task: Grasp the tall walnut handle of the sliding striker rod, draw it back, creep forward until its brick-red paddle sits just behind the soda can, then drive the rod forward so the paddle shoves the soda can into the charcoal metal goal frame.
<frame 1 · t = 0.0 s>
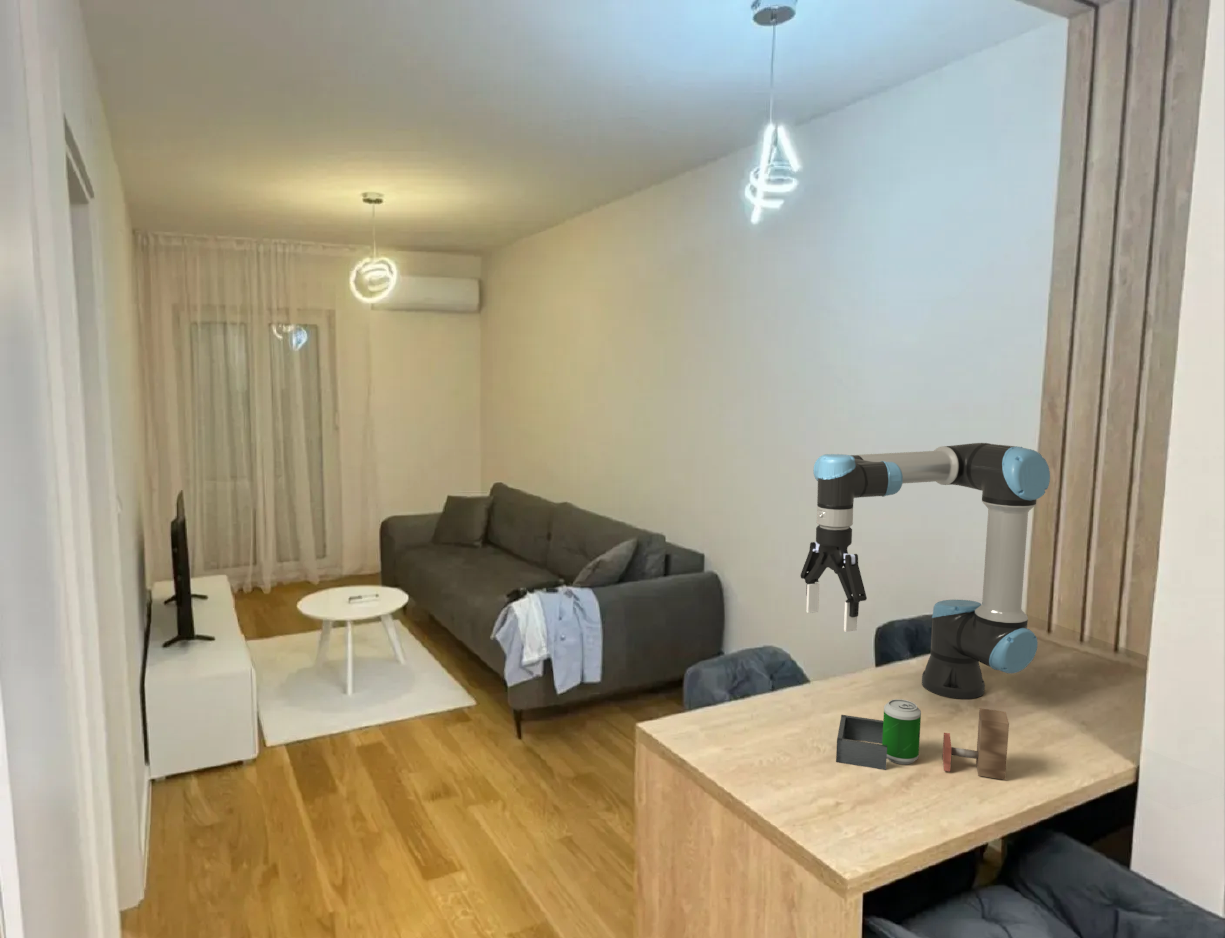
hand: (830, 621, 178), 28 cm above the table, fingers open, 13 cm apart
goal: (862, 752, 177), on the table
striker: (974, 740, 169), point 6 cm above the table, slide at 0.0 cm
soda can: (899, 758, 174), on the table
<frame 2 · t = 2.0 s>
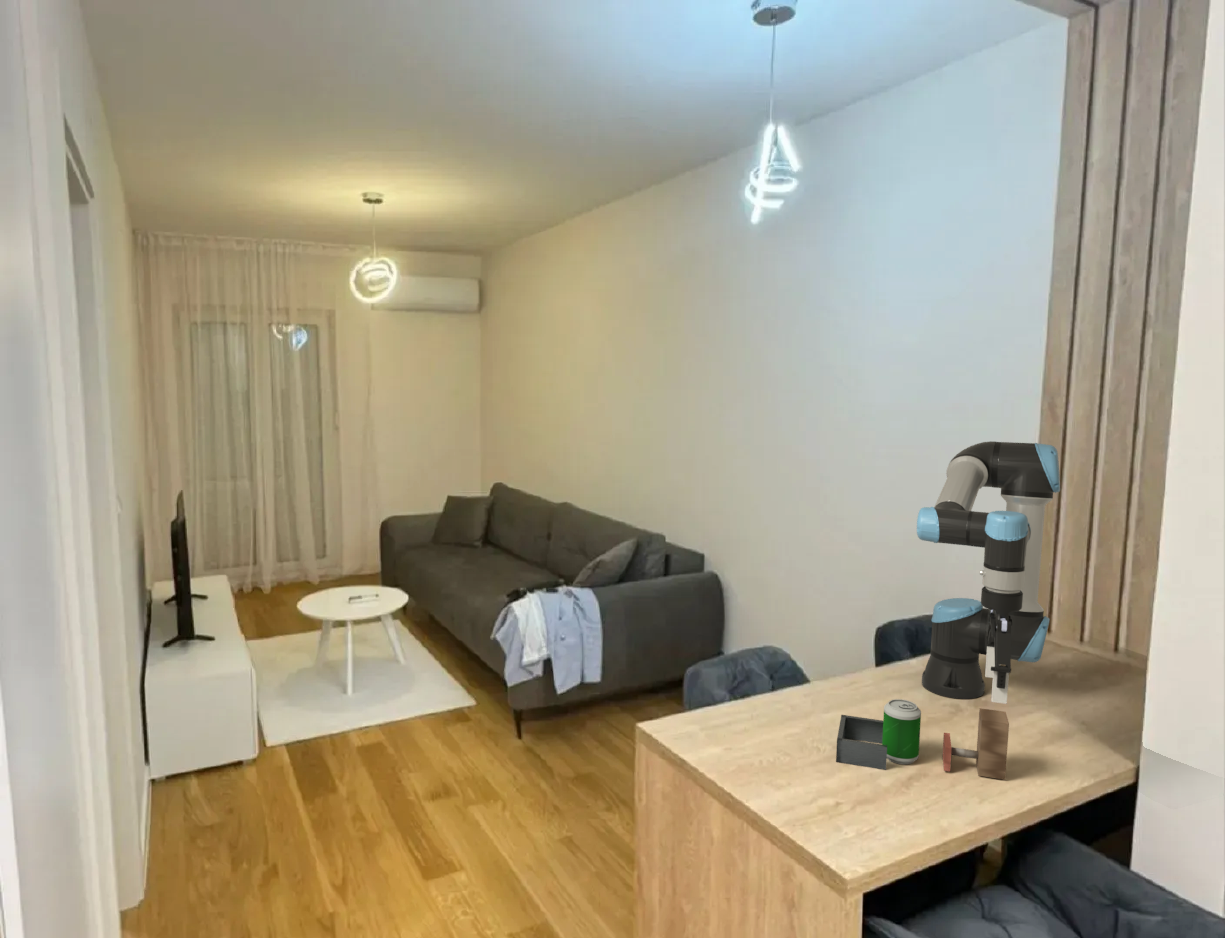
hand: (995, 689, 166), 18 cm above the table, fingers open, 13 cm apart
nothing on the table moved.
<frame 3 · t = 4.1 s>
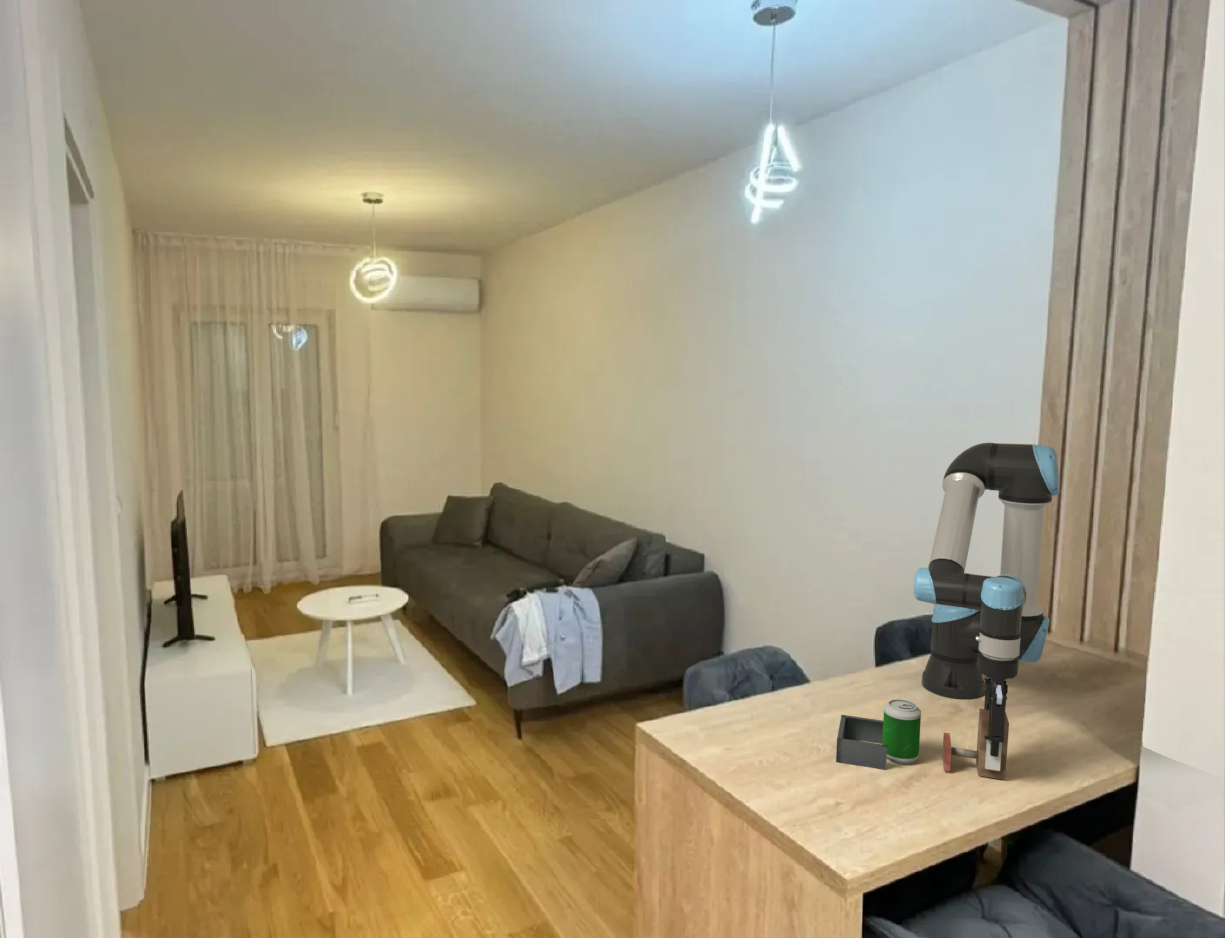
hand: (990, 761, 168), 2 cm above the table, fingers closed on striker, 6 cm apart
striker: (974, 740, 169), point 6 cm above the table, slide at 0.0 cm, touching gripper
everything else where it was.
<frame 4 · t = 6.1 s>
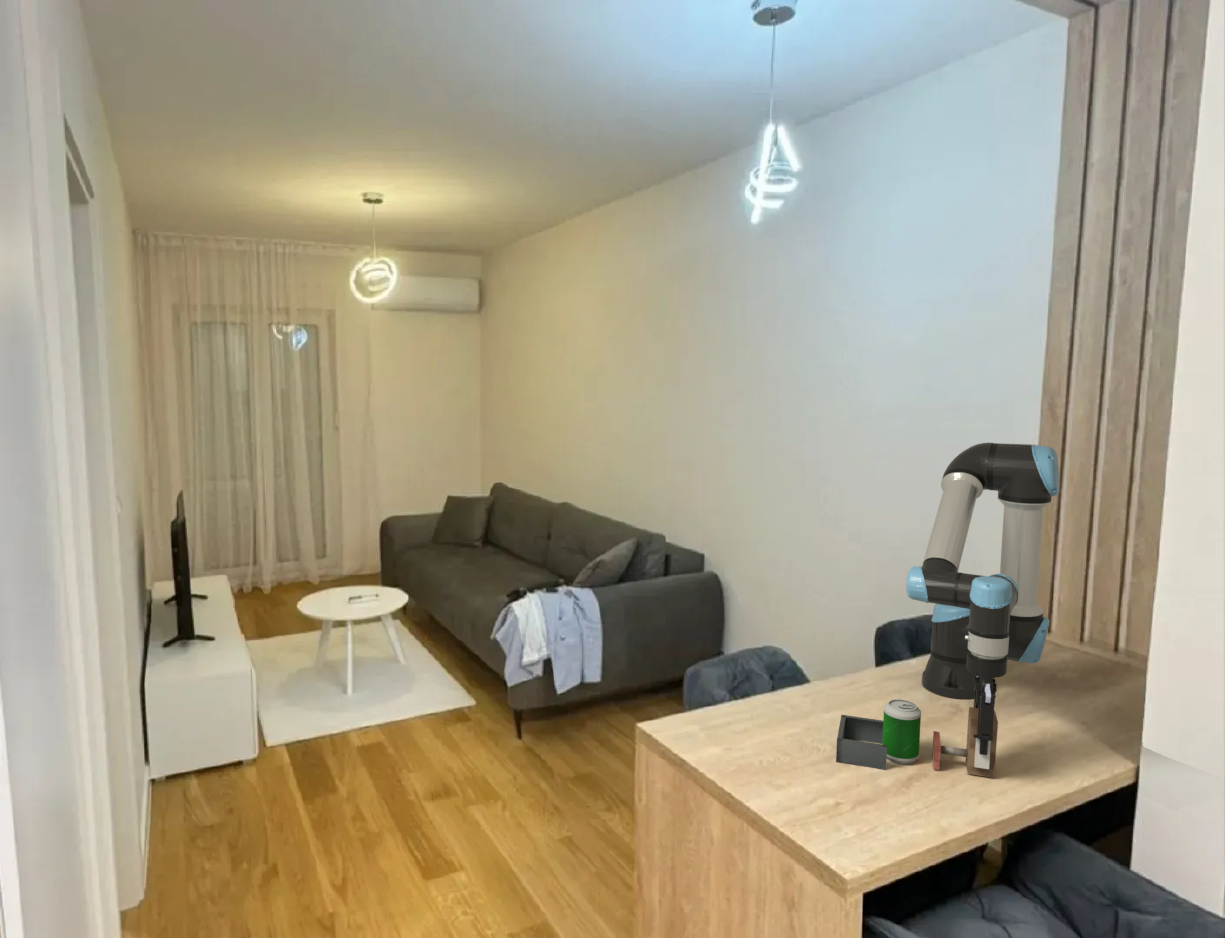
hand: (980, 759, 169), 2 cm above the table, fingers closed on striker, 6 cm apart
striker: (964, 739, 169), point 6 cm above the table, slide at 2.0 cm, touching gripper
everything else where it was.
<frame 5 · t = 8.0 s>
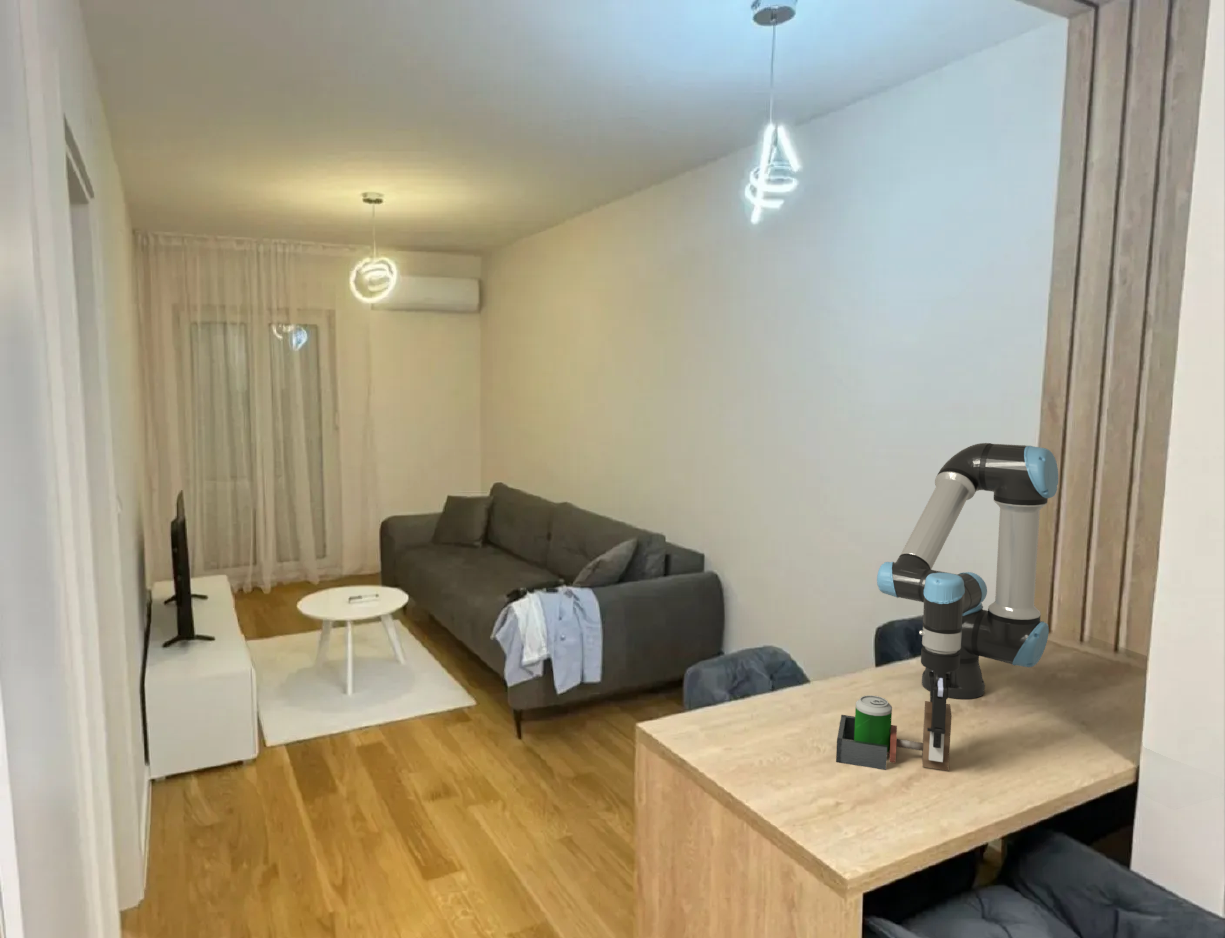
hand: (935, 752, 172), 2 cm above the table, fingers closed on striker, 6 cm apart
striker: (919, 732, 172), point 6 cm above the table, slide at 10.7 cm, touching gripper, soda can
soda can: (871, 754, 176), on the table, touching striker
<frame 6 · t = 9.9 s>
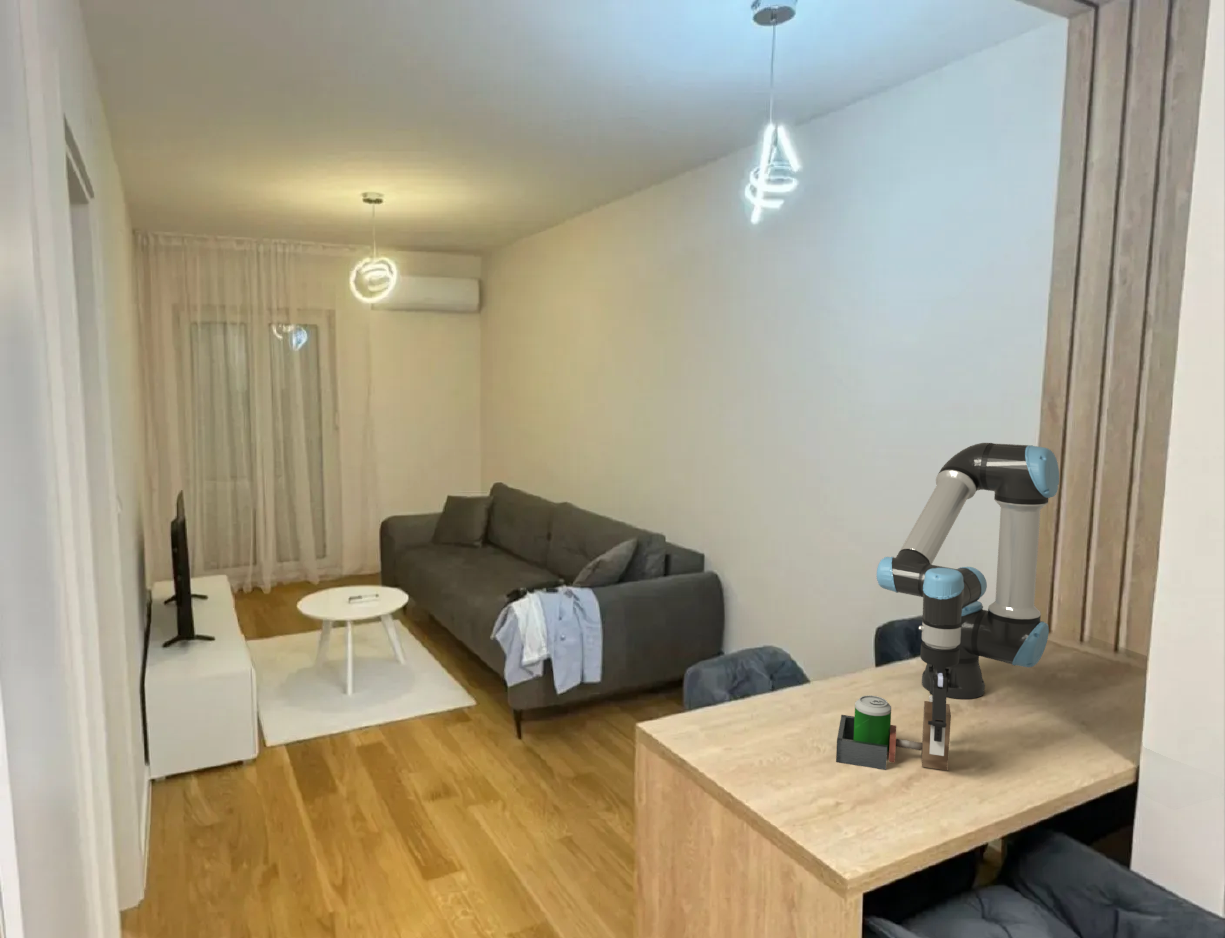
hand: (935, 739, 172), 5 cm above the table, fingers open, 13 cm apart
striker: (919, 732, 172), point 6 cm above the table, slide at 10.8 cm
soda can: (870, 754, 176), on the table
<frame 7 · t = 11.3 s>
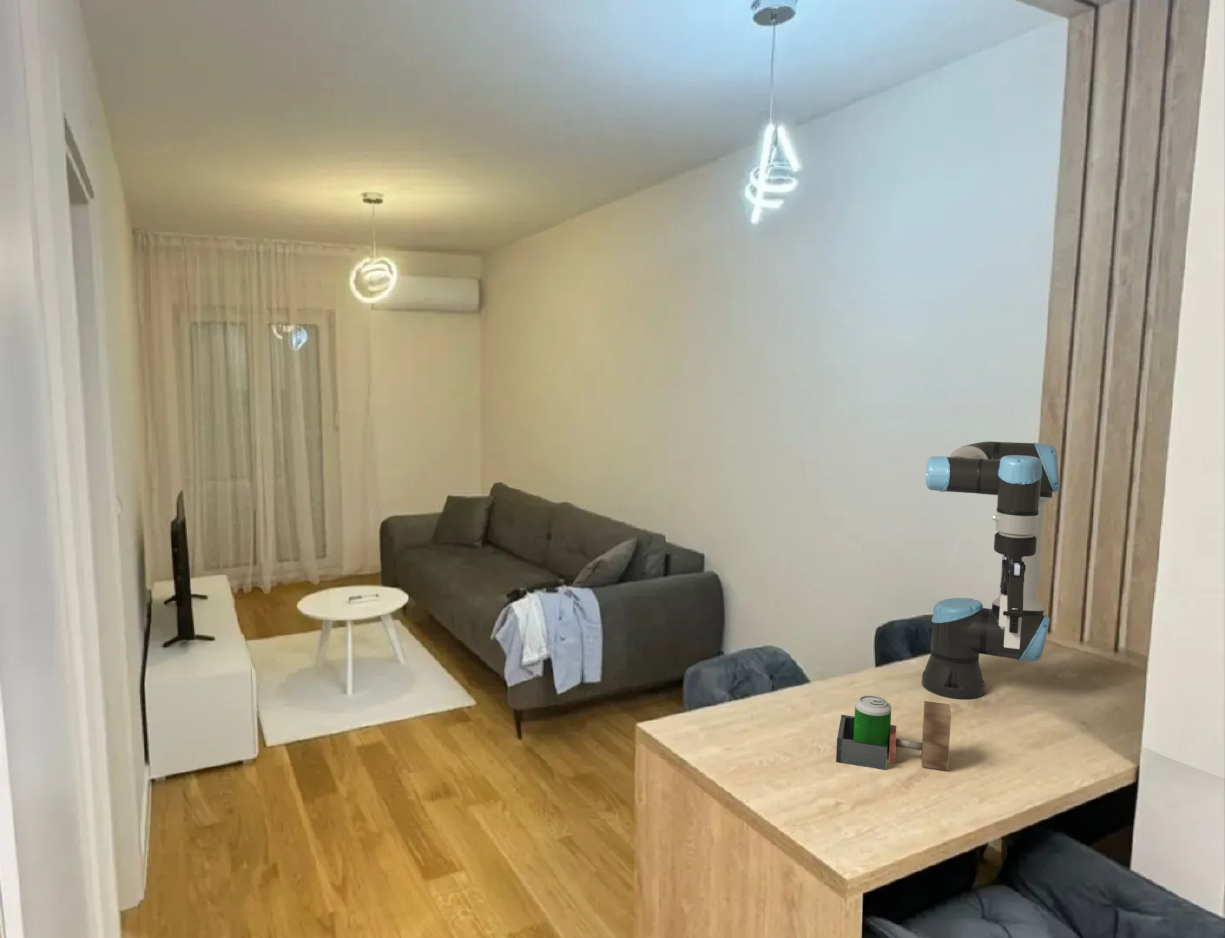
hand: (1008, 636, 164), 29 cm above the table, fingers open, 13 cm apart
nothing on the table moved.
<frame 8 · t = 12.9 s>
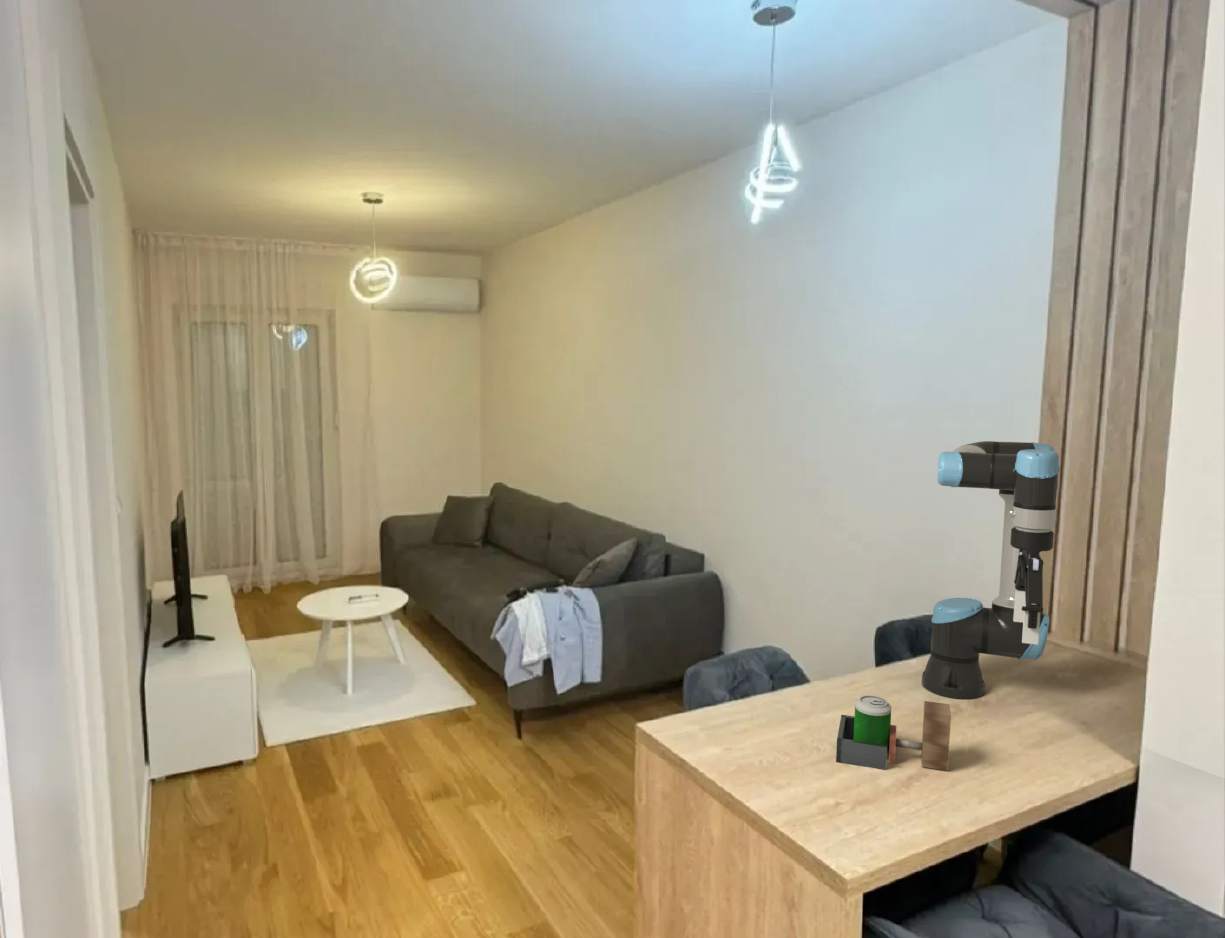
hand: (1025, 632, 163), 31 cm above the table, fingers open, 13 cm apart
nothing on the table moved.
at the end: soda can 1.8 cm from the goal (horizontally); soda can moved 6.0 cm from its start; striker slide at 10.8 cm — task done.
